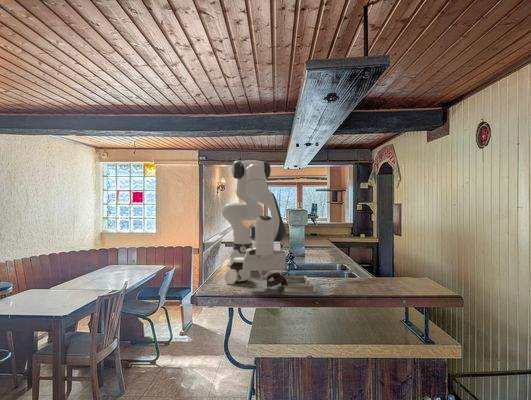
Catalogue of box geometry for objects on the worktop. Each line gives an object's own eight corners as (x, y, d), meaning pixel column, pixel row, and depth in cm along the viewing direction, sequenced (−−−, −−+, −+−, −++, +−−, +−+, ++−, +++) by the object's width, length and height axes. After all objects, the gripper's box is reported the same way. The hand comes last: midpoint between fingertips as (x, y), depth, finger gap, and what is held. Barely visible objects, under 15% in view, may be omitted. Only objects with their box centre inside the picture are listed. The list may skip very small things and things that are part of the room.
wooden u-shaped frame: (277, 281, 176) (277, 275, 176) (305, 281, 178) (306, 275, 178) (283, 292, 156) (283, 285, 156) (315, 291, 158) (316, 284, 158)
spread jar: (251, 280, 179) (251, 257, 179) (247, 285, 168) (247, 261, 168) (227, 279, 180) (228, 256, 180) (223, 284, 169) (223, 260, 169)
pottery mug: (291, 291, 159) (283, 277, 157) (272, 300, 160) (264, 285, 157) (287, 278, 171) (280, 265, 169) (269, 287, 171) (262, 273, 169)
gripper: (285, 249, 169) (284, 278, 169) (242, 249, 167) (242, 278, 167) (287, 251, 162) (286, 281, 162) (243, 251, 160) (242, 281, 160)
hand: (264, 279), depth 164 cm, fingers closed
